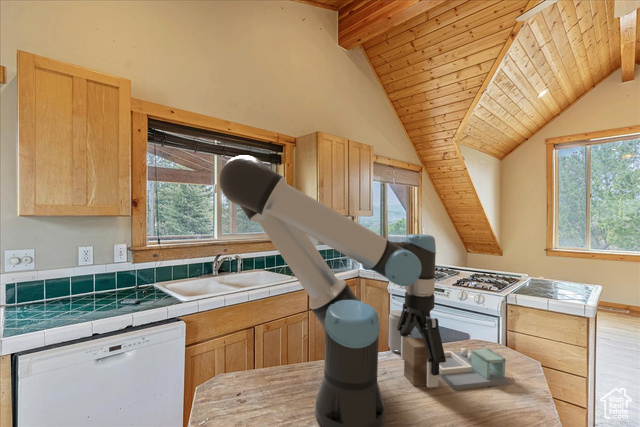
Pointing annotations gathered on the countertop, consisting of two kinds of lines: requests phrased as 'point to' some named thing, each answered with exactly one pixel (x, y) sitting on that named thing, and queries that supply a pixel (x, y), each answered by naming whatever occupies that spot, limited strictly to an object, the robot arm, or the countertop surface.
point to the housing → (487, 362)
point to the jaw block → (415, 361)
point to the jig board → (465, 372)
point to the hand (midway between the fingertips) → (418, 371)
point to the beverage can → (394, 331)
